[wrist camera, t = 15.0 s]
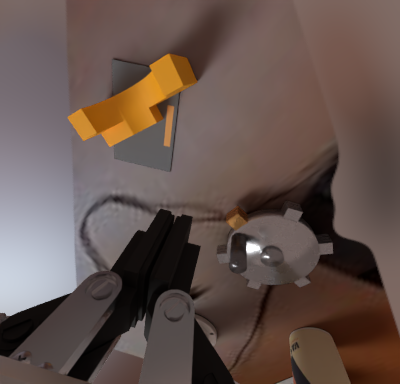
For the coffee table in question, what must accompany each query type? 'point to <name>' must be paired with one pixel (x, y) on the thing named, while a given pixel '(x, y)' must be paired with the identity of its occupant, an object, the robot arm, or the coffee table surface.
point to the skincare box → (287, 381)
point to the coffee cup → (315, 358)
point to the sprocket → (272, 246)
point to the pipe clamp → (135, 102)
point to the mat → (152, 136)
